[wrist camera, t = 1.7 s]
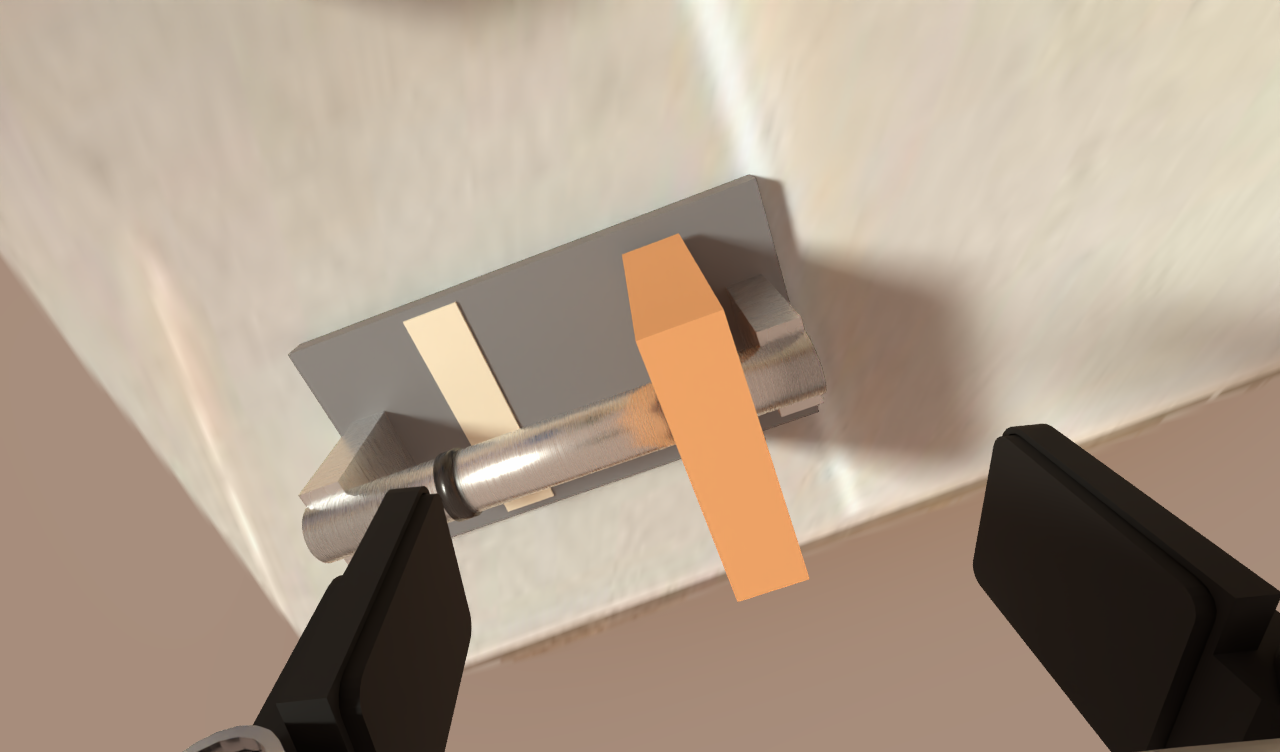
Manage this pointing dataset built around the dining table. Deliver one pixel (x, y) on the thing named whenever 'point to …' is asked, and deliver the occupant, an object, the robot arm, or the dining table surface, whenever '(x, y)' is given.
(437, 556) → the robot arm
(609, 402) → the pipe
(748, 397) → the collar
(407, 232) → the dining table surface
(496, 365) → the base board
